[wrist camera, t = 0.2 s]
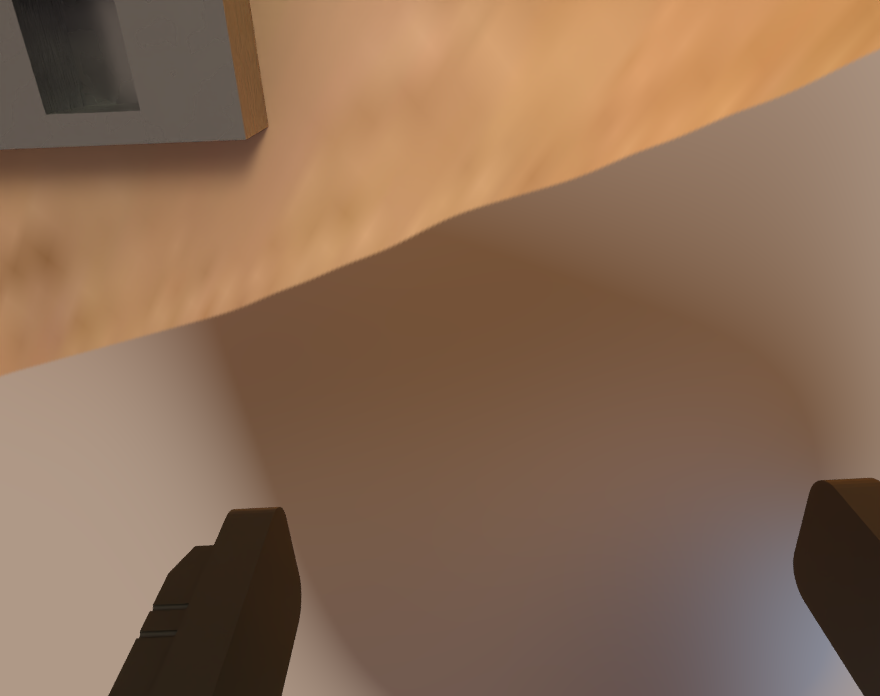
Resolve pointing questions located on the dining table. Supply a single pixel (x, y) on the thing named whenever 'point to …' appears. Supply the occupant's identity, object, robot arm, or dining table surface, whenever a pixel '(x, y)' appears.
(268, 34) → the dining table surface
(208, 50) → the grey slotted block
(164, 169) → the dining table surface
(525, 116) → the dining table surface
